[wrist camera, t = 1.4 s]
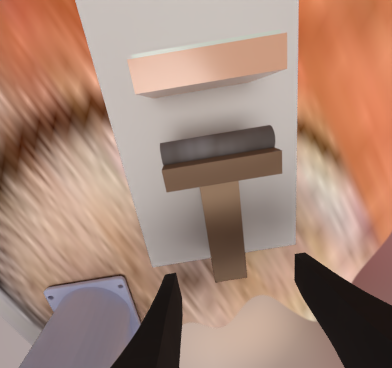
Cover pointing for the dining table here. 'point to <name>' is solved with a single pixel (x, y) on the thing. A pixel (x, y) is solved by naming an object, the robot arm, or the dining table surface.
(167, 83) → the tile
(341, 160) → the dining table surface
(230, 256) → the pusher
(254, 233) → the mat
